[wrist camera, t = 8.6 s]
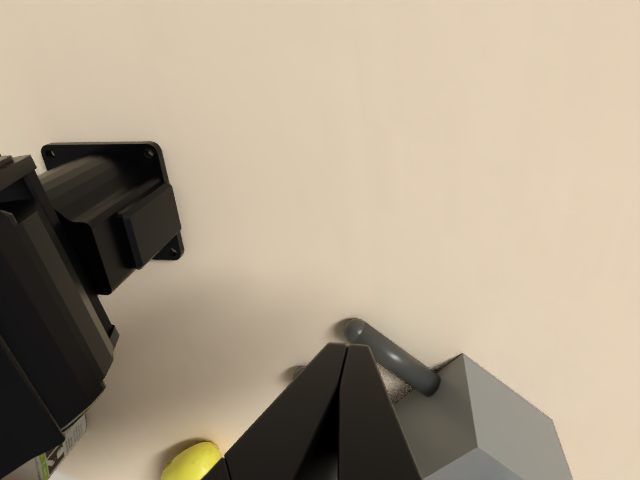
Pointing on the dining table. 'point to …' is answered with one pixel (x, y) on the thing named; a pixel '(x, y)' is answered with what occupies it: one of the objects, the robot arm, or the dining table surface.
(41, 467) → the coffee box
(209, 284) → the dining table surface
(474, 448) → the switch box
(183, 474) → the yellow oval piece
